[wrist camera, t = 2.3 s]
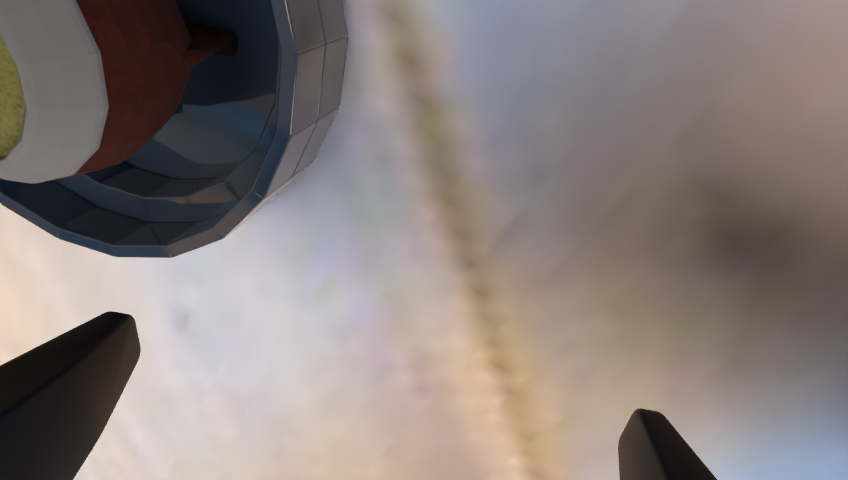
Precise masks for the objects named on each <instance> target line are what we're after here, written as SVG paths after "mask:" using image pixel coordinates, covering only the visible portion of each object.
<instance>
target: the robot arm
mask: <svg viewBox="0 0 848 480" xmlns="http://www.w3.org/2000/svg"><path fill="white" fill-rule="evenodd" d="M139 356H140V343H139V338H138V333H137V328H136V323H135V320H134V318H133V317H132V316H131V315H128V314H123V313H118V312H106V313H104V314H102V315H100V316H98V317H96V318H94V319H92V320H90V321H88V322H86V323H84V324H82V325H80V326H78V327H76V328H74V329H72V330H70V331H68V332H66V333H64V334H62V335H60V336H58V337H56V338H54V339H52V340H50V341H48V342H46V343H44V344H42V345H40V346H38V347H36V348H34V349H32V350H30V351H28V352H26V353H24V354H22V355H20V356H18V357H16V358H14V359H12V360H10V361H8V362H6V363H4V364H2V365H0V480H73V479H74V477H75V475H76V474H77V472H78V471H79V469H80V468H81V466H82V464H83V463H84V461H85V460H86V458H87V457H88V455H89V454H90V452H91V450H92V449H93V447H94V445H95V444H96V442H97V440H98V439H99V437H100V435H101V433H102V432H103V430H104V428H105V426H106V424H107V422H108V420H109V418H110V416H111V414H112V412H113V410H114V408H115V406H116V404H117V402H118V400H119V398H120V396H121V394H122V392H123V390H124V388H125V386H126V384H127V382H128V380H129V378H130V376H131V374H132V372H133V370H134V368H135V366H136V364H137V362H138V359H139ZM618 453H619V471H620V480H717V479H716V478H715V477H714V475H713V474H712V473H711V472H710V471H709V469H708V468H707V467H706V466H705V465H704V463H703V462H702V461H701V460H700V458H699V457H698V456H697V455H696V454H695V452H694V451H693V450H692V449H691V448H690V446H689V445H688V444H687V443H686V442H685V440H684V439H683V438H682V437H681V436H680V434H679V433H678V432H677V431H676V429H675V428H674V427H673V426H672V425H671V423H670V422H669V421H668V420H667V419H666V417H665V416H664V415H663V414H661V413H660V412H657V411H652V410H646V409H637V410H635V411H634V413H633V414H632V416H631V418H630V420H629V421H628V423H627V425H626V427H625V429H624V431H623V433H622V435H621V437H620V440H619V446H618Z"/></svg>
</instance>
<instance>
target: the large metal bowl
mask: <svg viewBox="0 0 848 480" xmlns="http://www.w3.org/2000/svg"><path fill="white" fill-rule="evenodd" d="M175 1H176V3H177V6H178V8H179V11H180V13H181V15H182V18H183V20H184V22H188V23H194V24H199V25H205V26H210V27H216V28H221V29H226V30H230V31H233V32H235V33H236V35H237V37H238V51H237V53H236V54H234V55H233V56H225V55H217V54H212V55H211V56H209V57H208V58H206V59H205V60H203V61H201V62H200V63H198V64H196V65H194V66H192V69H191V73H190V77H189V80H188V83H187V86H186V88H185V91H184V94H183V97H182V100H181V102H180V105H179V106H178V108H177V110H176V114H174V115H173V116H172V117H171V119H170V120H169V121H168V122H167V123H166V124H165V125H164V126H163V127H162V128H161V129H160V130H159V131H158V132H157V133H156V134H155V135H154V136H153V137H152V138H151V139H150V140H149V141H148V142H147V143H146V144H145V145H144V146H143V147H142V148H141V149H140V150H139V151H138V152H137V153H136V154H134V155H132V156H131V157H129V158H128V159H126V160H125V161H123V162H121V163H120V164H117V165H114V166H111V167H107V168H104V169H101V170H98V171H93V172H89V173H85V174H80V175H76V176H71V177H67V178H61V179H54V180H49V181H45V182H41V183H34V184H30V183H23V182H16V181H9V180H5V179H1V178H0V203H1V204H2V205H3V206H5V207H7V208H8V209H10V210H12V211H13V212H15V213H17V214H18V215H20V216H22V217H23V218H25V219H27V220H28V221H30V222H31V223H33V224H35V225H36V226H38V227H40V228H41V229H43V230H45V231H46V232H48V233H50V234H51V235H53V236H55V237H56V238H59V239H61V240H64V241H67V242H71V243H74V244H77V245H80V246H83V247H86V248H89V249H92V250H96V251H99V252H102V253H105V254H108V255H111V256H116V257H162V258H171V257H175V256H178V255H181V254H183V253H186V252H189V251H191V250H194V249H197V248H200V247H202V246H205V245H208V244H210V243H213V242H216V241H219V240H221V239H223V238H225V237H226V236H227V235H228V234H230V233H231V232H232V231H233V230H235V229H236V228H237V227H238V226H240V225H241V224H242V223H243V222H245V221H246V220H247V219H248V218H250V217H251V216H252V215H253V214H255V213H256V212H257V211H258V210H260V209H261V208H262V207H263V206H265V205H266V204H267V203H268V202H270V201H271V200H272V199H273V198H275V197H276V196H277V195H278V194H279V193H280V192H281V191H282V190H283V189H284V188H286V187H287V186H288V185H289V184H290V183H291V182H292V181H293V180H294V179H295V178H296V177H297V176H298V175H299V174H300V173H301V172H302V171H303V170H304V169H306V168H307V167H308V166H309V165H310V164H311V163H312V162H313V160H314V159H315V157H316V155H317V153H318V151H319V149H320V146H321V144H322V142H323V140H324V138H325V136H326V134H327V132H328V130H329V127H330V125H331V123H332V121H333V119H334V117H335V115H336V113H337V111H338V108H339V105H340V100H341V91H342V83H343V75H344V66H345V58H346V50H347V41H348V37H347V35H348V34H347V27H346V21H345V15H344V9H343V3H342V0H175Z"/></svg>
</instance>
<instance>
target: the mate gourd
mask: <svg viewBox="0 0 848 480" xmlns="http://www.w3.org/2000/svg"><path fill="white" fill-rule="evenodd" d="M237 51H238V37H237V35H236V33H235V32H233V31H230V30H226V29H221V28H216V27H210V26H205V25H199V24H194V23H188V22H184V20H183V18H182V15H181V13H180V11H179V8H178V6H177V3H176V1H175V0H0V178H1V179H5V180H9V181H16V182H23V183H30V184H34V183H41V182H45V181H49V180H54V179H61V178H67V177H71V176H76V175H80V174H85V173H89V172H93V171H98V170H101V169H104V168H107V167H111V166H114V165H117V164H120V163H121V162H123V161H125V160H126V159H128V158H129V157H131V156H132V155H134V154H136V153H137V152H138V151H139V150H140V149H141V148H142V147H143V146H144V145H145V144H146V143H147V142H148V141H149V140H150V139H151V138H152V137H153V136H154V135H155V134H156V133H157V132H158V131H159V130H160V129H161V128H162V127H163V126H164V125H165V124H166V123H167V122H168V121H169V120H170V119H171V117H172V116H173V115H174V114H176V110H177V108H178V106H179V105H180V102H181V100H182V97H183V94H184V91H185V88H186V86H187V83H188V80H189V77H190V73H191V69H192V66H194V65H196V64H198V63H200V62H201V61H203V60H205V59H206V58H208V57H209V56H211V55H212V54H217V55H225V56H233V55H234V54H236V53H237Z"/></svg>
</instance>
